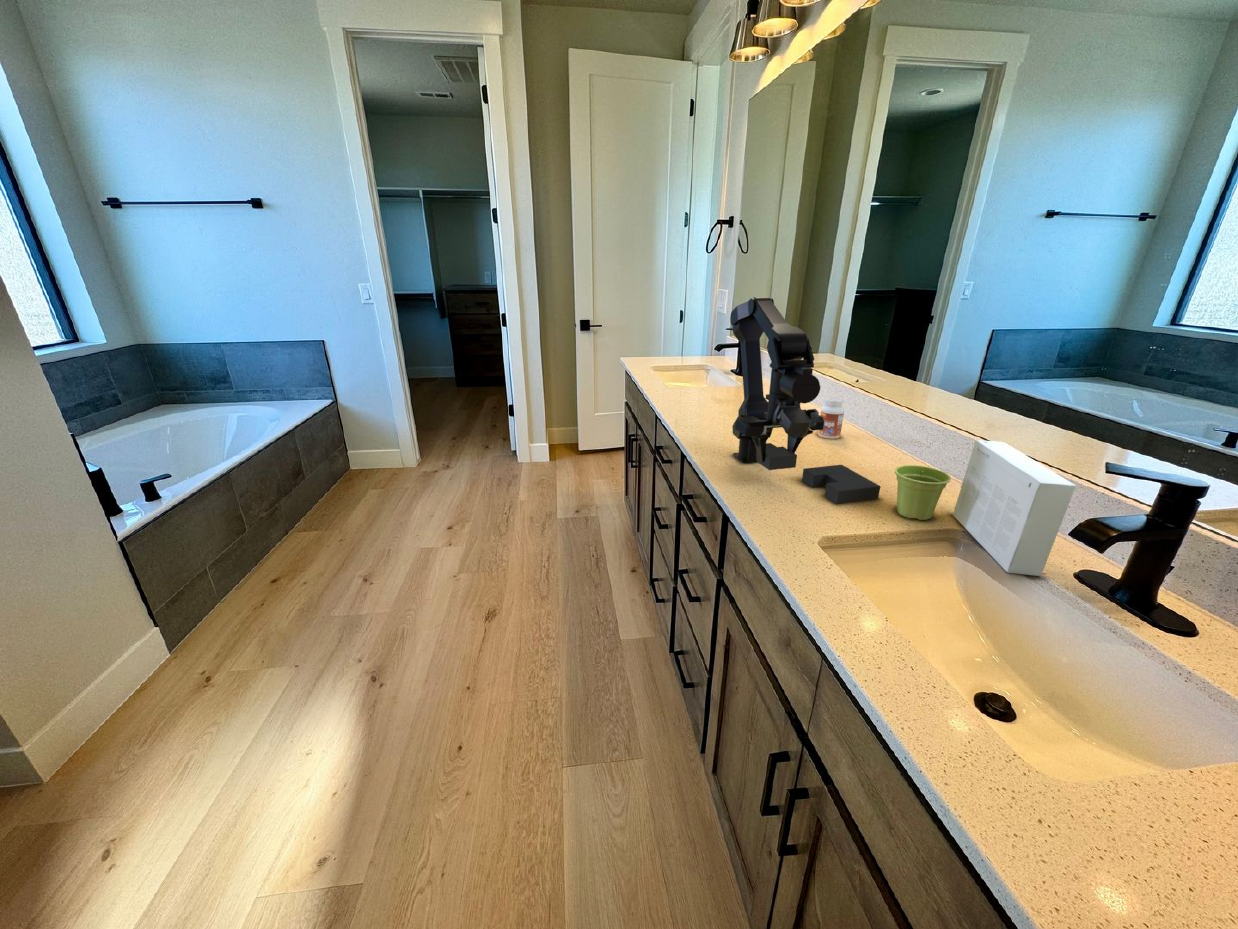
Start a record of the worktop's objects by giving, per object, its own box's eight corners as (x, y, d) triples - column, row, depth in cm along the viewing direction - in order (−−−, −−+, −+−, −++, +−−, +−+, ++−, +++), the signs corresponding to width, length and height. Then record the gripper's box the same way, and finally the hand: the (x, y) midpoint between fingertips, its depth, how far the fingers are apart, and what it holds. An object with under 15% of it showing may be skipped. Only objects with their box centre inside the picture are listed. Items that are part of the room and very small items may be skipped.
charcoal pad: (801, 480, 114) (803, 468, 113) (839, 476, 116) (841, 464, 115) (836, 504, 102) (838, 491, 101) (878, 499, 104) (880, 486, 103)
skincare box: (1046, 578, 77) (1078, 485, 71) (1006, 574, 78) (1036, 483, 72) (982, 516, 96) (1004, 439, 91) (951, 514, 97) (971, 438, 92)
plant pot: (876, 508, 100) (884, 469, 97) (908, 500, 104) (917, 461, 101) (918, 528, 92) (928, 486, 89) (952, 518, 96) (962, 477, 93)
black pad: (769, 470, 108) (770, 457, 107) (750, 456, 116) (751, 444, 115) (795, 467, 109) (797, 454, 108) (775, 454, 118) (776, 442, 117)
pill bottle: (813, 435, 145) (818, 398, 141) (825, 431, 149) (830, 395, 145) (832, 440, 140) (838, 402, 136) (844, 436, 144) (850, 399, 140)
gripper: (761, 404, 96) (754, 477, 102) (845, 397, 100) (834, 468, 106) (736, 391, 106) (731, 459, 112) (813, 386, 110) (805, 451, 116)
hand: (775, 459), depth 111 cm, fingers closed on black pad, 6 cm apart
